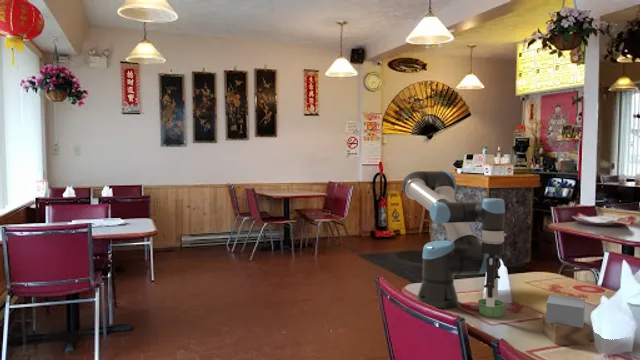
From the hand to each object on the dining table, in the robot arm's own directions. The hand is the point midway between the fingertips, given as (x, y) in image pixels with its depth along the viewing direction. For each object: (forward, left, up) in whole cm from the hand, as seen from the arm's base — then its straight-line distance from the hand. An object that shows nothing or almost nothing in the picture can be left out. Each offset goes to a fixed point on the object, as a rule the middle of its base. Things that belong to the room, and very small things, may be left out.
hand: (492, 301), depth 173 cm
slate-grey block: (+23, -14, +1) cm, 27 cm away
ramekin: (0, 0, -5) cm, 5 cm away
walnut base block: (+23, -15, -5) cm, 28 cm away
